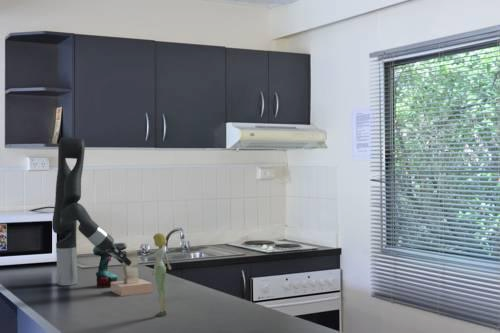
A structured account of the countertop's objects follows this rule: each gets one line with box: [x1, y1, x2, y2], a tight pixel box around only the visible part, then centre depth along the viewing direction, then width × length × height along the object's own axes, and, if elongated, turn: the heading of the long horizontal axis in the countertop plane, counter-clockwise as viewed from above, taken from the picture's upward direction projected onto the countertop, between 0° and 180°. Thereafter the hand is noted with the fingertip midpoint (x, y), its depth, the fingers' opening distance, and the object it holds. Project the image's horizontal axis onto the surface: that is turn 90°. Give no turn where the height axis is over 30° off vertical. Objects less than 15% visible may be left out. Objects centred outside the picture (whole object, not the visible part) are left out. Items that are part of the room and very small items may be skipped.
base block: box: [110, 278, 153, 297], centre depth 304 cm, size 14×14×4 cm
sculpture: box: [150, 232, 172, 317], centre depth 256 cm, size 13×5×30 cm, turn 157°
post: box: [122, 248, 139, 284], centre depth 304 cm, size 5×5×14 cm
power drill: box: [92, 242, 128, 288], centre depth 319 cm, size 7×16×20 cm, turn 78°
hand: (126, 263), depth 303 cm, fingers open, 8 cm apart
